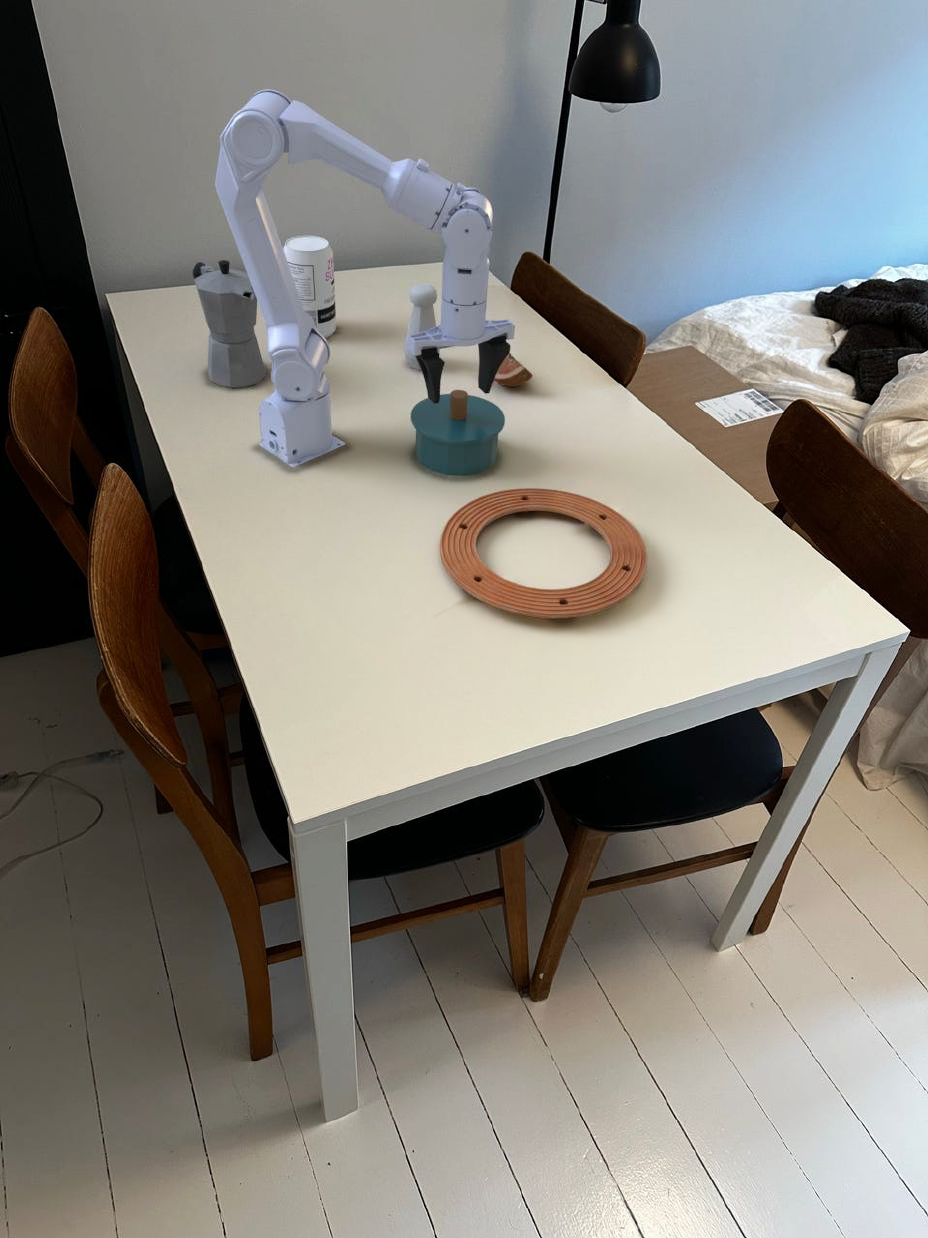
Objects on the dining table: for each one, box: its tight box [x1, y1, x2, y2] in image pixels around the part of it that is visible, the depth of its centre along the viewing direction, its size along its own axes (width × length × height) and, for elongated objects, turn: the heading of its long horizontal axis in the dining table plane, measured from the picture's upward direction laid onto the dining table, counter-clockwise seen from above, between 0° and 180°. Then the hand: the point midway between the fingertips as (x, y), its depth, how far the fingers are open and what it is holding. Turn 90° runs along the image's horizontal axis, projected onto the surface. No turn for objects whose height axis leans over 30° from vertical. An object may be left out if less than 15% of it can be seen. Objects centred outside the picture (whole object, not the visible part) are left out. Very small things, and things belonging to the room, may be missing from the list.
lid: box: [410, 389, 506, 444], centre depth 127 cm, size 13×13×4 cm
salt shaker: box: [403, 283, 441, 371], centre depth 149 cm, size 6×6×13 cm
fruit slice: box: [493, 353, 533, 387], centre depth 148 cm, size 8×7×5 cm
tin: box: [414, 429, 499, 477], centre depth 130 cm, size 11×11×6 cm
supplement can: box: [283, 235, 337, 339], centre depth 155 cm, size 8×8×15 cm
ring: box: [439, 487, 648, 620], centre depth 114 cm, size 25×25×2 cm
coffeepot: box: [192, 259, 267, 389], centre depth 142 cm, size 15×9×18 cm, turn 44°
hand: (459, 395), depth 126 cm, fingers open, 7 cm apart
